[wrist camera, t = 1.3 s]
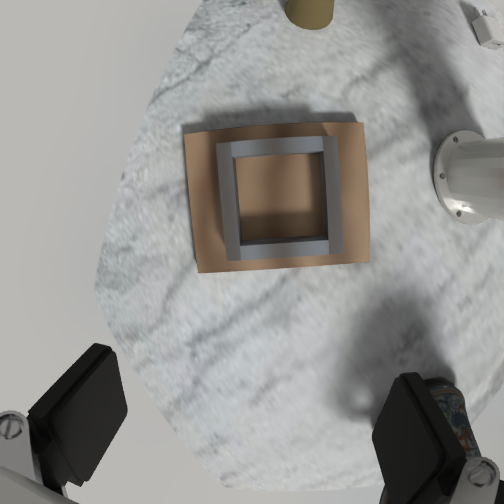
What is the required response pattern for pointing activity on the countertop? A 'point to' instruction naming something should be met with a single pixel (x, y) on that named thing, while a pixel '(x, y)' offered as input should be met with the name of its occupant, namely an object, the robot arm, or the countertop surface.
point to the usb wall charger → (488, 31)
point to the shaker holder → (279, 196)
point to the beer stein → (450, 418)
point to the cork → (310, 13)
